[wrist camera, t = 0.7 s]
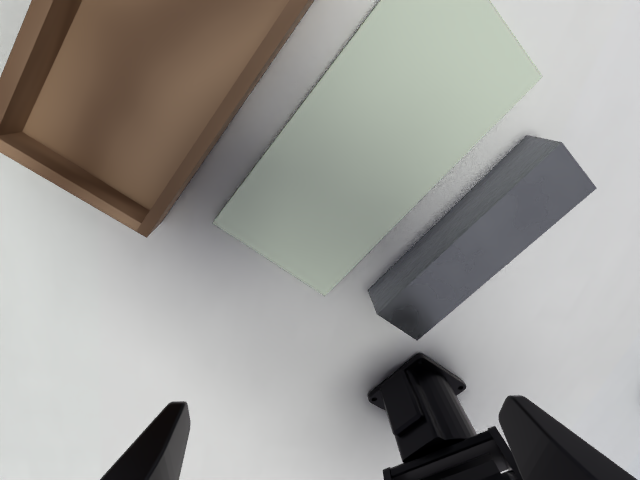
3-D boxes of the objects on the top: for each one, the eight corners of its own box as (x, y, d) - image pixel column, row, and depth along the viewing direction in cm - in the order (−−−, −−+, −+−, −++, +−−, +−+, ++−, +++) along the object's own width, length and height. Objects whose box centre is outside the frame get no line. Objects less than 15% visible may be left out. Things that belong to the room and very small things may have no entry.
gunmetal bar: (555, 174, 20) (596, 188, 18) (403, 312, 24) (417, 340, 22) (522, 134, 19) (561, 142, 16) (366, 287, 23) (377, 314, 20)
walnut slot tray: (365, -75, 14) (378, -103, 12) (161, 222, 19) (146, 237, 17) (201, -286, 11) (181, -368, 9) (14, 131, 16) (-25, 137, 14)
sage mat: (535, 77, 17) (542, 76, 17) (323, 291, 22) (324, 296, 22) (432, -69, 14) (437, -75, 13) (214, 219, 19) (212, 223, 19)
